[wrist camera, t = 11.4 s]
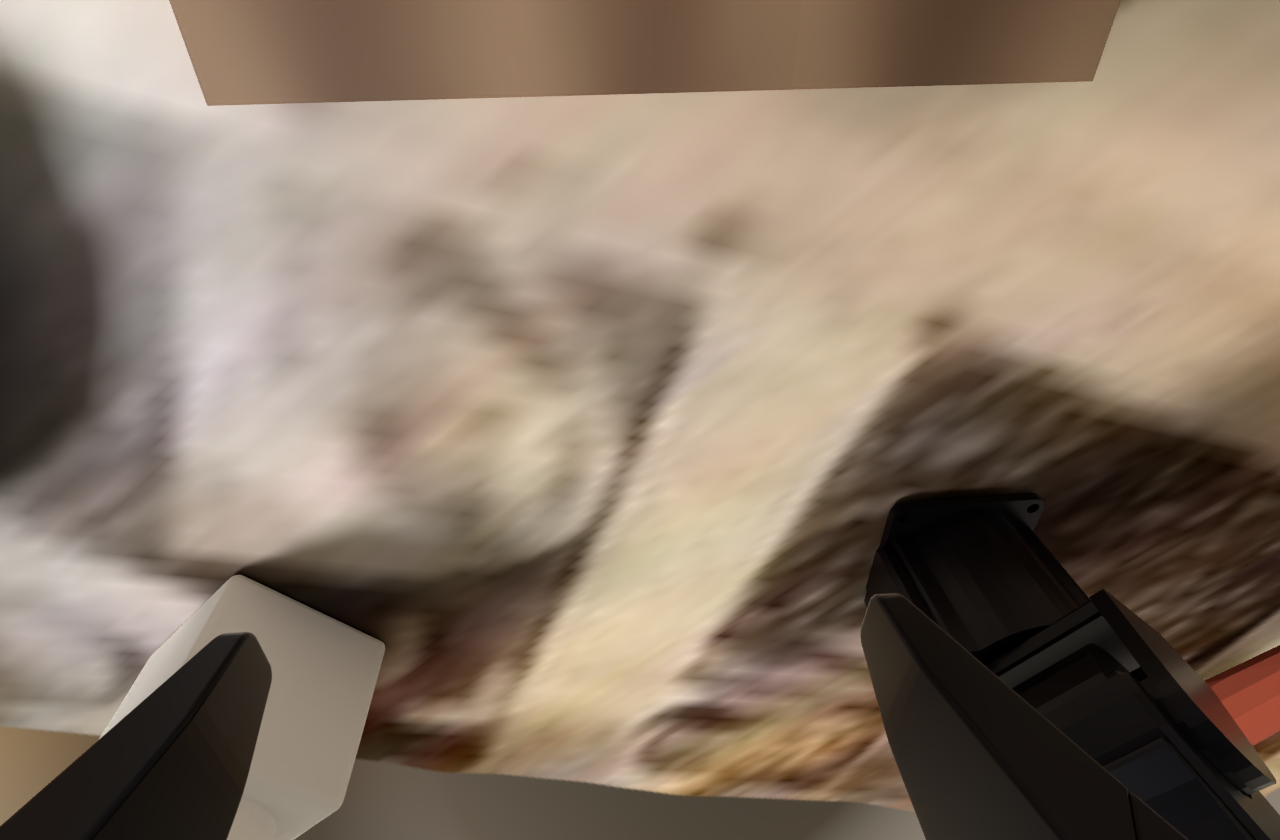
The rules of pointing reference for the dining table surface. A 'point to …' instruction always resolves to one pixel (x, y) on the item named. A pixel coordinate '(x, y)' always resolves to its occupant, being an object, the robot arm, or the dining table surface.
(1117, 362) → the dining table surface
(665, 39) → the socket board
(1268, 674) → the mallet
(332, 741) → the medicine bottle
